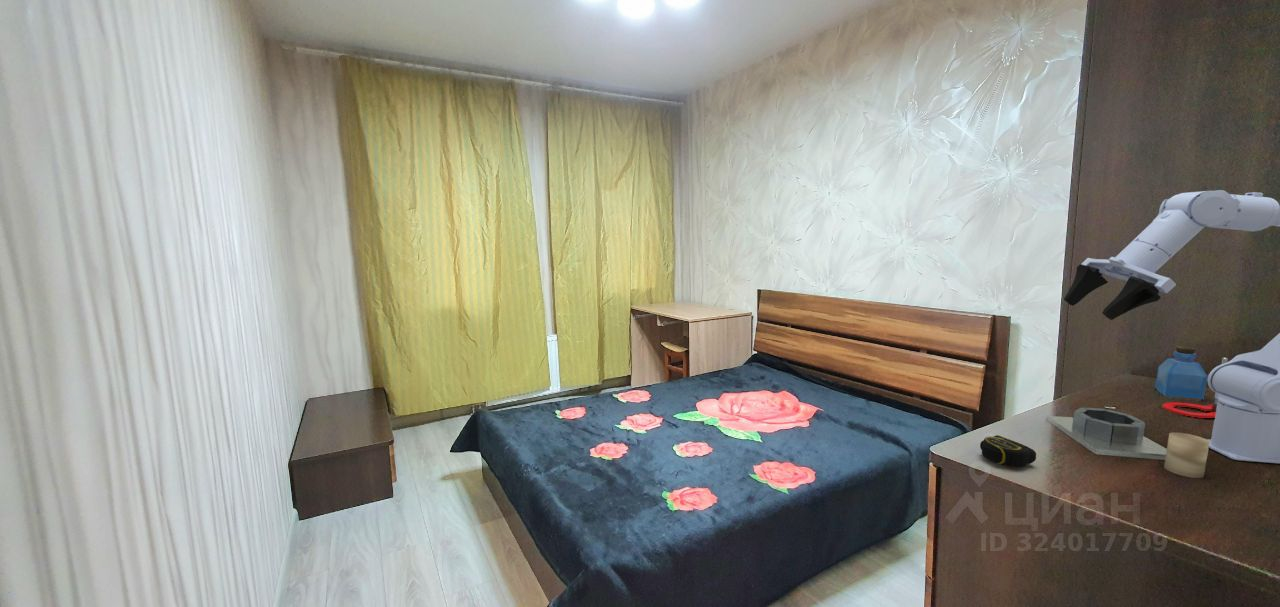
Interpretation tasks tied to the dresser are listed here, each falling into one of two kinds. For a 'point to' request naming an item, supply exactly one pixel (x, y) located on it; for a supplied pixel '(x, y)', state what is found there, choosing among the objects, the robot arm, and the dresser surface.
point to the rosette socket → (1109, 433)
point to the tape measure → (1007, 452)
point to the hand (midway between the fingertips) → (1086, 309)
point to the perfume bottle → (1181, 375)
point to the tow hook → (1194, 406)
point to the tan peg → (1186, 455)
